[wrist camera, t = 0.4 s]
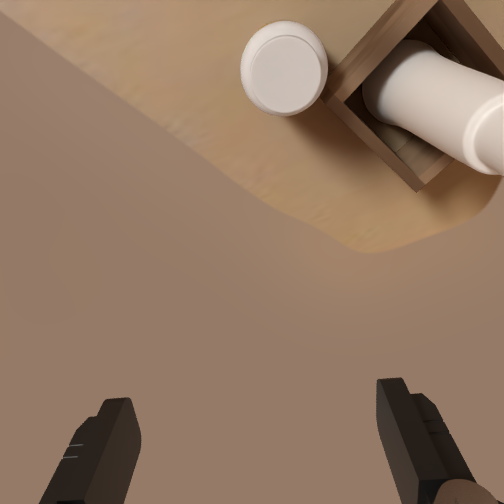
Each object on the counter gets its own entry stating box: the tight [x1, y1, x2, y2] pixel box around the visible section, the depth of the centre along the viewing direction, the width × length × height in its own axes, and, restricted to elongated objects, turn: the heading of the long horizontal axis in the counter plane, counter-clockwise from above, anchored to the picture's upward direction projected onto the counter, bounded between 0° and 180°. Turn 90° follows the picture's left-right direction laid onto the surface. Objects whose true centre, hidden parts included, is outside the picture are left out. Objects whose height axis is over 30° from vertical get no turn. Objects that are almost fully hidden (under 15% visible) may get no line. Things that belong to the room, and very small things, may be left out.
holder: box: [319, 0, 504, 193], centre depth 29 cm, size 9×9×6 cm
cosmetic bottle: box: [362, 40, 504, 177], centre depth 22 cm, size 6×6×22 cm
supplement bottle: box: [241, 20, 328, 116], centre depth 27 cm, size 5×5×10 cm
